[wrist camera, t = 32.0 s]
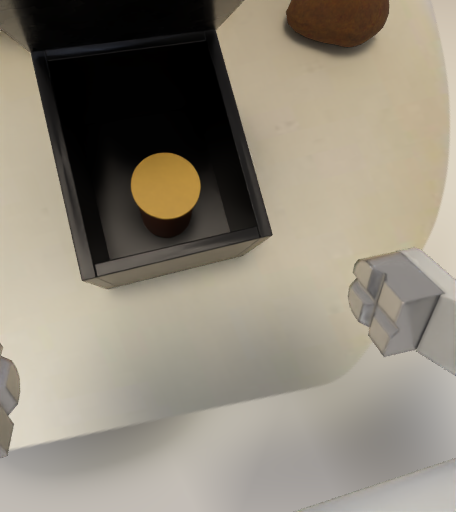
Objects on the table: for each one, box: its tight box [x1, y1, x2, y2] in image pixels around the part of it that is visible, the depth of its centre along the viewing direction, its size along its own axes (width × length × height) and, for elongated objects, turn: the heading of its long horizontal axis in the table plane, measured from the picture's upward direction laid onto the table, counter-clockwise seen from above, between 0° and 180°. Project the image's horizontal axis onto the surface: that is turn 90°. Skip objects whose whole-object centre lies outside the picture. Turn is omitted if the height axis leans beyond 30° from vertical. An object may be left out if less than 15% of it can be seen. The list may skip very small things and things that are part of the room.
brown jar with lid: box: [131, 153, 201, 238], centre depth 30 cm, size 5×5×8 cm
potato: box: [286, 0, 389, 47], centre depth 37 cm, size 7×10×7 cm
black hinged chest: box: [31, 30, 273, 289], centre depth 30 cm, size 16×13×10 cm
